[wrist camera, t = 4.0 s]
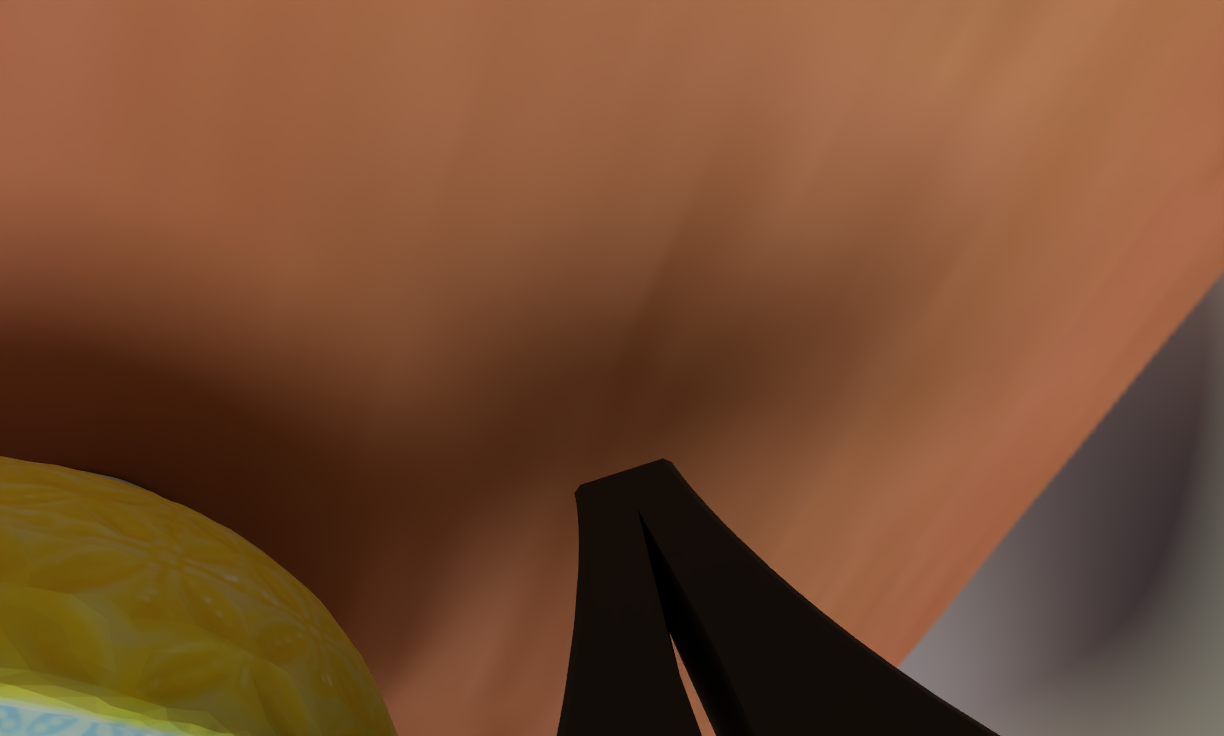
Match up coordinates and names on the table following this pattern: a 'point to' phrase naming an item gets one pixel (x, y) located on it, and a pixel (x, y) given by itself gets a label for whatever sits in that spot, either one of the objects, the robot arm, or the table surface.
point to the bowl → (159, 622)
